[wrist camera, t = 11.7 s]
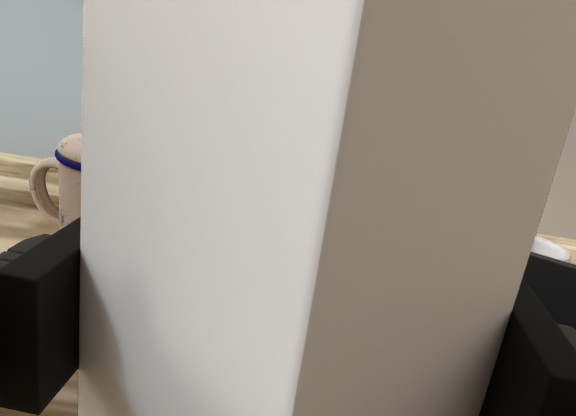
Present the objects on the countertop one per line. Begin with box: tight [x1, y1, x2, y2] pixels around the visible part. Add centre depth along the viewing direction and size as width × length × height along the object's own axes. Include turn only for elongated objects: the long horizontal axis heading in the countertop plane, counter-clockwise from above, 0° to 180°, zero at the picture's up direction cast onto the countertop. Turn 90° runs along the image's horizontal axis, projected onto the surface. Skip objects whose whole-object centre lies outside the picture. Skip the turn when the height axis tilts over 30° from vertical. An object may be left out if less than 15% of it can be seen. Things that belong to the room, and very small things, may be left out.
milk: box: [78, 0, 576, 416], centre depth 11 cm, size 6×6×22 cm
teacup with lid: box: [29, 133, 82, 230], centre depth 37 cm, size 12×9×12 cm
